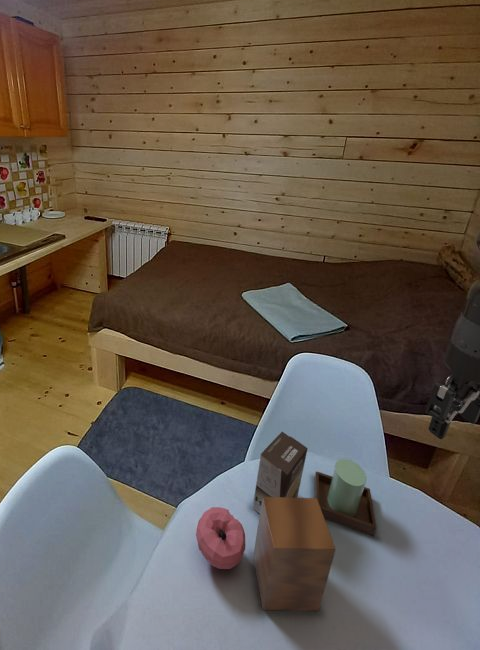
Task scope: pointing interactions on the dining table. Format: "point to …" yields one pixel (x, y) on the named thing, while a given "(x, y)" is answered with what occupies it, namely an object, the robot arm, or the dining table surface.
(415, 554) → the dining table surface
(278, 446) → the coffee box
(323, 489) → the tray
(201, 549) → the apple
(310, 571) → the stand
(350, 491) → the pale green cylinder
